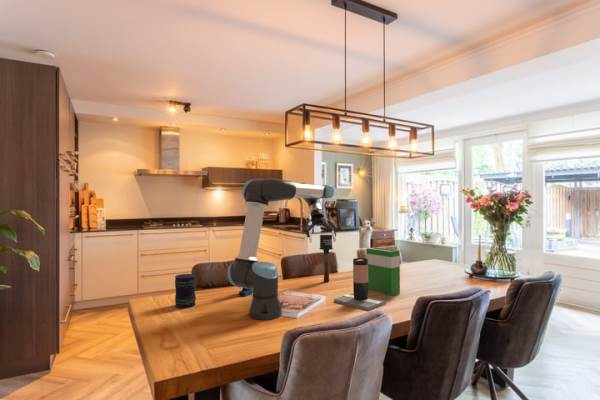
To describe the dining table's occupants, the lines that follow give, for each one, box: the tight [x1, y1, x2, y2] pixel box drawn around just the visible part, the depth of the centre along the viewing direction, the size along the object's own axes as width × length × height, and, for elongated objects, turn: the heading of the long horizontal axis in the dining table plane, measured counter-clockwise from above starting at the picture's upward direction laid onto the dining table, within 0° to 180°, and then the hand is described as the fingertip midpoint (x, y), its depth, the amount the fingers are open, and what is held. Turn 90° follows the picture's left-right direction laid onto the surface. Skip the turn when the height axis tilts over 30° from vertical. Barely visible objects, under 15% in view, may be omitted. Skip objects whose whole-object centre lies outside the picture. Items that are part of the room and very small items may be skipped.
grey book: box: [333, 293, 386, 312], centre depth 178 cm, size 15×21×2 cm
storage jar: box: [174, 273, 197, 310], centre depth 176 cm, size 10×10×15 cm
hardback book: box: [365, 246, 401, 297], centre depth 200 cm, size 18×7×24 cm, turn 38°
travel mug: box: [352, 257, 369, 300], centre depth 180 cm, size 8×8×20 cm
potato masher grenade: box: [319, 233, 334, 283], centre depth 225 cm, size 8×9×30 cm
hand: (323, 241), depth 194 cm, fingers open, 13 cm apart
